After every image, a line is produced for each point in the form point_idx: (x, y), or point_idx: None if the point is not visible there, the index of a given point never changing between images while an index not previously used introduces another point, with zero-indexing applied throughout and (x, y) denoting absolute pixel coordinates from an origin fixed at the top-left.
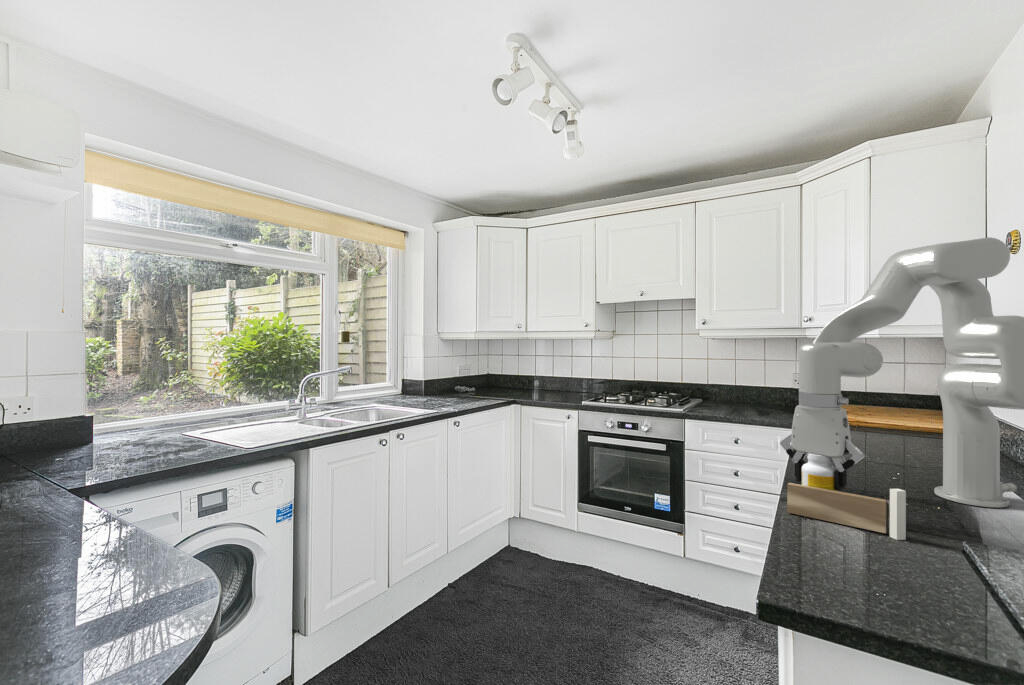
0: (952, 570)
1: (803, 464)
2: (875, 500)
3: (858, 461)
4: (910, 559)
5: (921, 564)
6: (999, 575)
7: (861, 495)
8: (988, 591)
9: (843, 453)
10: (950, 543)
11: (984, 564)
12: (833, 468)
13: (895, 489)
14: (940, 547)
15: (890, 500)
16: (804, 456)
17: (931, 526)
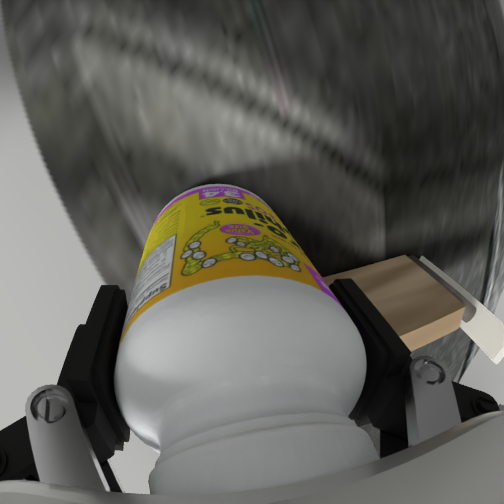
0: (455, 337)
1: (140, 439)
2: (437, 336)
3: (500, 409)
4: (418, 352)
5: (427, 355)
6: (494, 299)
7: (409, 333)
8: (465, 357)
9: (488, 423)
10: (486, 206)
11: (495, 273)
12: (350, 412)
13: (502, 350)
14: (471, 249)
15: (470, 337)
16: (93, 451)
17: (469, 95)
